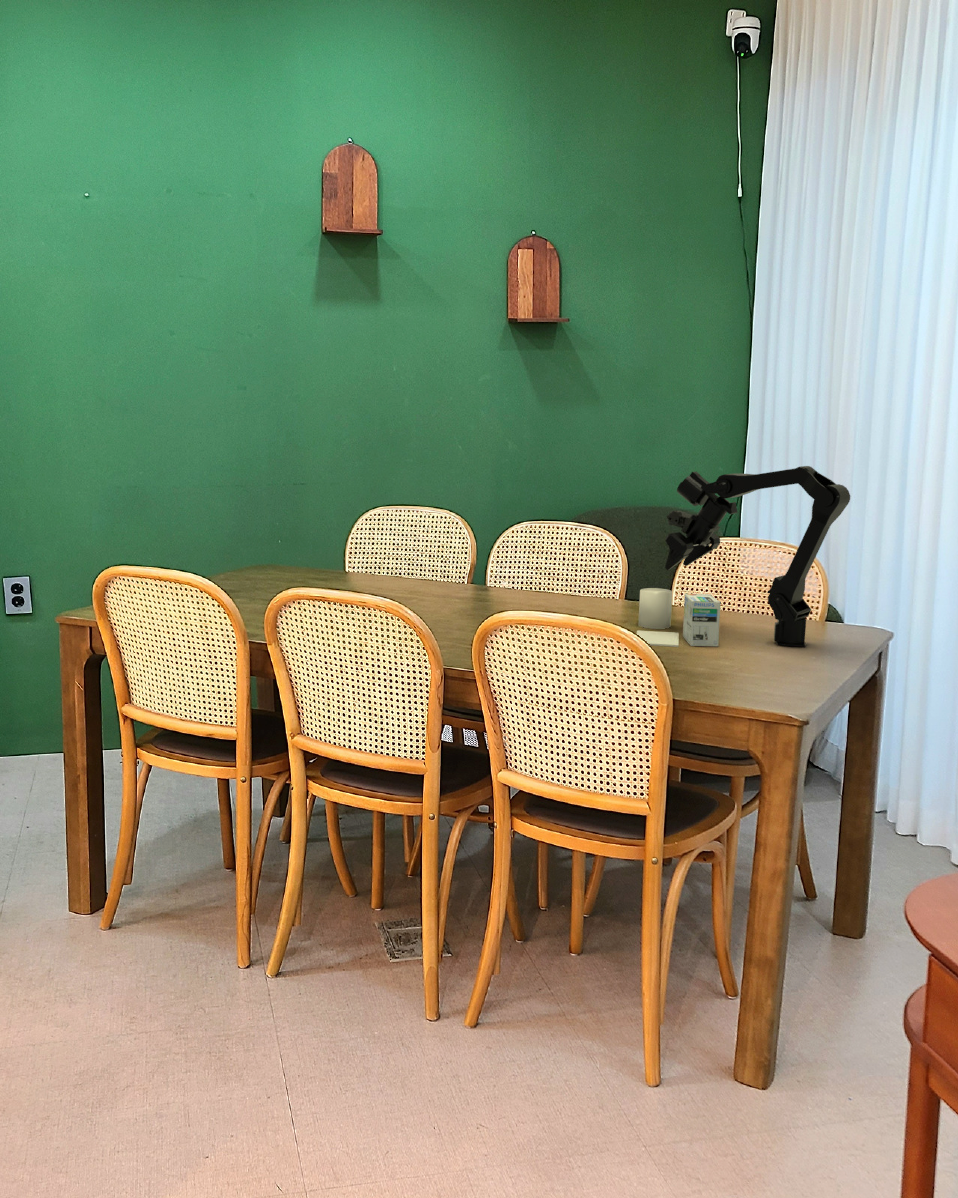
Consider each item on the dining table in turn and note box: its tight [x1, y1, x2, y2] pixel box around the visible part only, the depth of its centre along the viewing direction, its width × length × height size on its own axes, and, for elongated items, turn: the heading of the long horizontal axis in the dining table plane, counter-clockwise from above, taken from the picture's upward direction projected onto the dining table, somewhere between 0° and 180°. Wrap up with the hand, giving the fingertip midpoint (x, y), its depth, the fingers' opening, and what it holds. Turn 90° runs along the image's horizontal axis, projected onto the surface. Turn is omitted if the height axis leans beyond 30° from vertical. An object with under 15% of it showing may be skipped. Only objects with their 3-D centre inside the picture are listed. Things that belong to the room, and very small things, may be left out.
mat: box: [636, 630, 680, 648], centre depth 262 cm, size 10×14×1 cm
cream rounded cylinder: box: [638, 587, 673, 630], centre depth 277 cm, size 8×8×9 cm
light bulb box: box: [682, 593, 722, 647], centre depth 259 cm, size 11×7×11 cm, turn 0°
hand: (675, 567), depth 276 cm, fingers open, 9 cm apart
